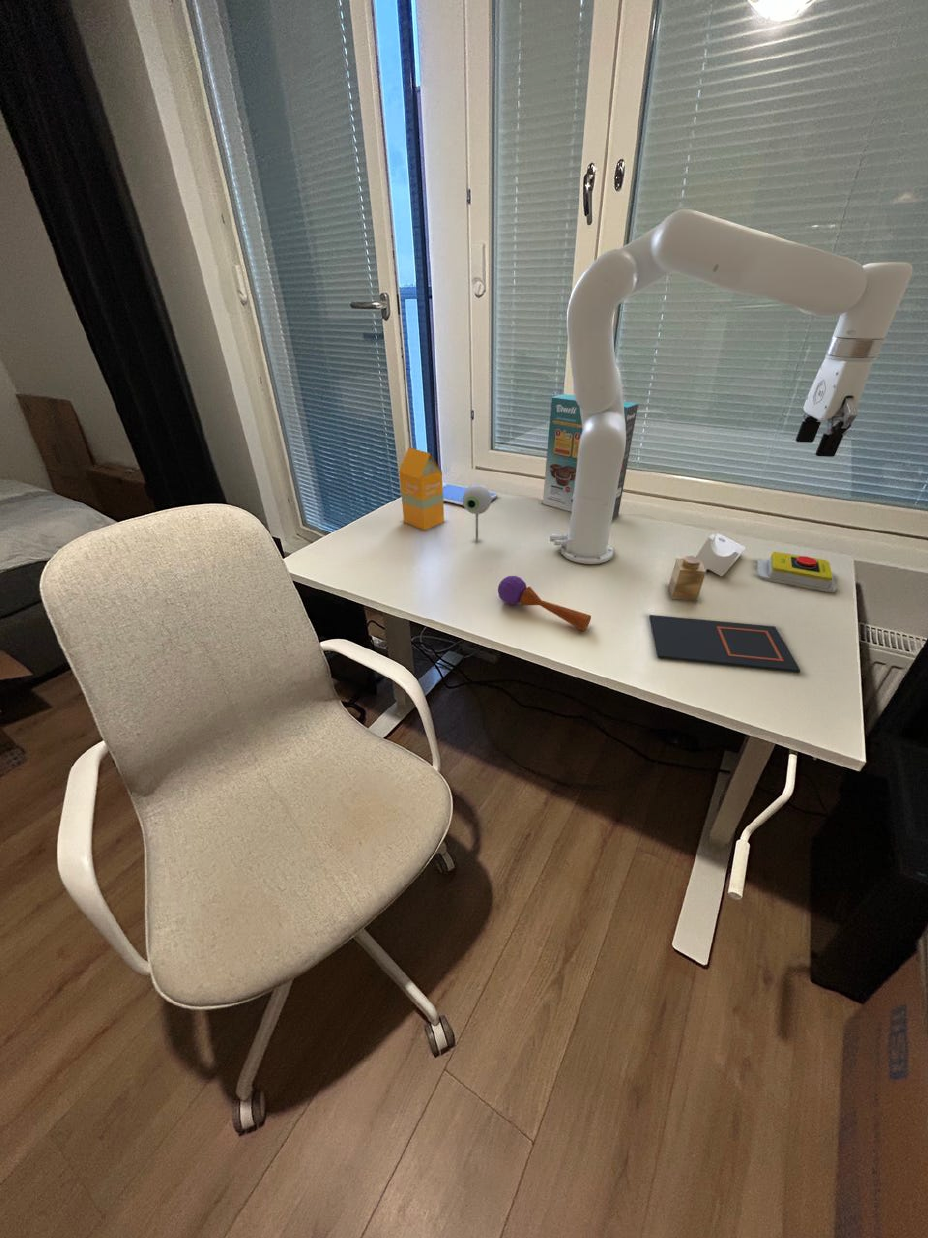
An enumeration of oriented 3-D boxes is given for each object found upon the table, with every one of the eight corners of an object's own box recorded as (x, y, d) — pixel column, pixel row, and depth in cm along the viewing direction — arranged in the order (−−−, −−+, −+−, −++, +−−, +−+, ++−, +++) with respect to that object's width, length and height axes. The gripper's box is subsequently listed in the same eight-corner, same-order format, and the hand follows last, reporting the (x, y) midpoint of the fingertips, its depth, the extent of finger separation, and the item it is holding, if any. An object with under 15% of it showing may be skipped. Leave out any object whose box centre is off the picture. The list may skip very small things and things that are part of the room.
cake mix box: (618, 515, 138) (638, 403, 121) (608, 522, 134) (627, 407, 117) (553, 498, 150) (563, 393, 133) (542, 503, 146) (551, 397, 129)
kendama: (581, 622, 88) (492, 582, 97) (577, 643, 92) (492, 603, 101) (596, 603, 91) (508, 566, 100) (592, 624, 95) (508, 587, 105)
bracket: (719, 579, 109) (738, 553, 104) (691, 563, 112) (708, 537, 107) (737, 559, 117) (756, 534, 112) (710, 544, 120) (727, 519, 115)
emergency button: (844, 575, 100) (763, 560, 105) (835, 593, 102) (756, 578, 108) (839, 556, 106) (763, 544, 112) (831, 574, 109) (757, 560, 115)
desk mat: (658, 658, 85) (659, 655, 85) (649, 617, 96) (650, 614, 96) (799, 673, 82) (800, 669, 81) (774, 628, 92) (775, 625, 92)
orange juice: (423, 513, 141) (419, 444, 130) (444, 522, 136) (441, 450, 124) (403, 521, 136) (396, 450, 125) (424, 530, 131) (419, 456, 120)
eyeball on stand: (459, 544, 124) (457, 488, 115) (469, 533, 129) (468, 479, 121) (484, 549, 122) (485, 491, 113) (494, 537, 127) (495, 482, 118)
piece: (671, 598, 101) (681, 564, 97) (668, 586, 105) (677, 553, 101) (696, 600, 101) (707, 566, 96) (692, 588, 105) (702, 555, 100)
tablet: (425, 498, 151) (425, 494, 150) (447, 486, 160) (447, 482, 159) (477, 510, 142) (477, 506, 142) (498, 497, 151) (498, 493, 150)
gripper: (810, 344, 92) (777, 436, 102) (853, 355, 78) (810, 461, 88) (853, 344, 91) (816, 438, 101) (905, 355, 77) (856, 462, 87)
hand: (813, 448), depth 94 cm, fingers open, 9 cm apart
